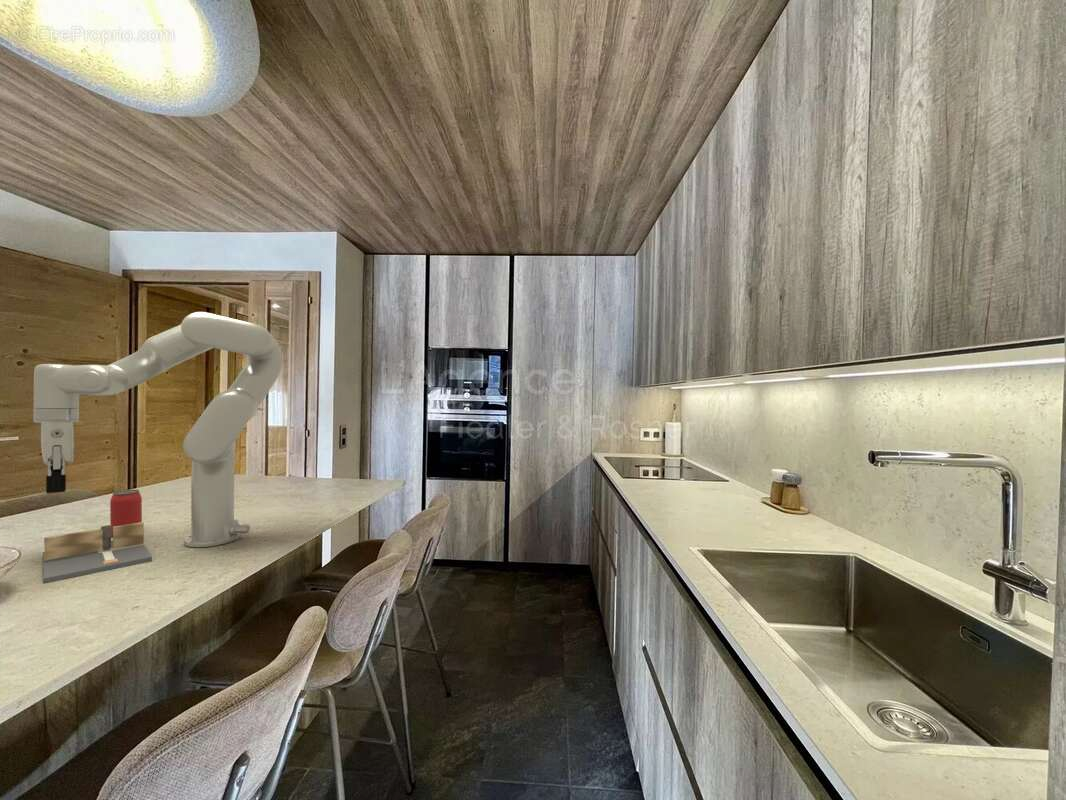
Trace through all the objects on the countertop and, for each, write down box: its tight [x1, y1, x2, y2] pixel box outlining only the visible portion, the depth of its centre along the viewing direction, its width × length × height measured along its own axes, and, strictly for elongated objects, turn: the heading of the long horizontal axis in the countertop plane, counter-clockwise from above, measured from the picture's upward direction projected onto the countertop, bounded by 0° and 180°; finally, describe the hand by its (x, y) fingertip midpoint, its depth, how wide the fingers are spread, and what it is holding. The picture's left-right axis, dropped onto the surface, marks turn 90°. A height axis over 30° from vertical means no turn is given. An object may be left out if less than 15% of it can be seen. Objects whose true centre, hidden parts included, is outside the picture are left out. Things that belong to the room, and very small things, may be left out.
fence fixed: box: [112, 521, 145, 549], centre depth 114 cm, size 6×1×6 cm, turn 138°
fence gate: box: [43, 524, 112, 560], centre depth 108 cm, size 11×2×6 cm, turn 138°
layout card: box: [42, 539, 153, 584], centre depth 109 cm, size 18×22×1 cm
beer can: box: [109, 489, 143, 537], centre depth 127 cm, size 7×7×12 cm
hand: (55, 491), depth 109 cm, fingers closed
